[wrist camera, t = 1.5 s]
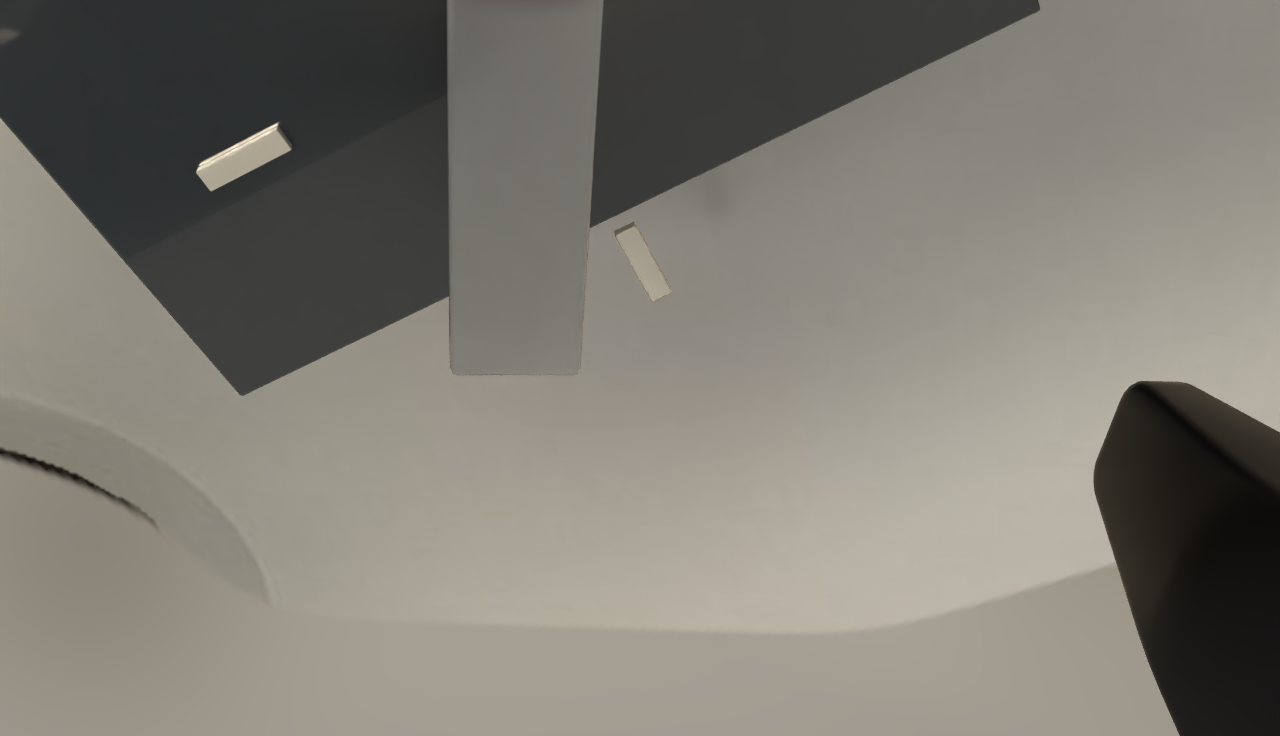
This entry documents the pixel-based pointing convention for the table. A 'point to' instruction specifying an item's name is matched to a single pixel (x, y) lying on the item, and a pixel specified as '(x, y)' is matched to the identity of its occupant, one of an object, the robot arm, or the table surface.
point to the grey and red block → (520, 181)
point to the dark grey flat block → (391, 137)
